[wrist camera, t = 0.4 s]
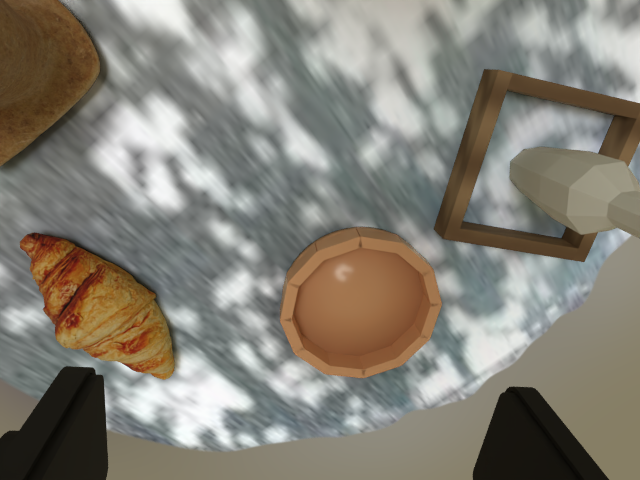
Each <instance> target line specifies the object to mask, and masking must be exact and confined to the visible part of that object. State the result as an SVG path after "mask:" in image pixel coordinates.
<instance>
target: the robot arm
mask: <svg viewBox="0 0 640 480" xmlns="http://www.w3.org/2000/svg"><path fill="white" fill-rule="evenodd" d="M107 471H108V453H107V433H106V413H105V394H104V378H103V376H102V375H96V373H95V370H94V368H90V367H68V366H66V367H64V368H63V369H62V370H61V371H60V372H59V374H58V375H57V377H56V378H55V380H54V381H53V383H52V384H51V385H50V387H49V388H48V390H47V391H46V393H45V394H44V396H43V397H42V398H41V400H40V401H39V403H38V404H37V406H36V407H35V409H34V410H33V412H32V413H31V415H30V416H29V417H28V419H27V420H26V422H25V423H24V425H23V426H22V428H21V429H20V431H8V432H7V433H5V434H4V435H3V436H2V437H1V438H0V480H106V477H107ZM473 480H609V479H608V478H607V476H606V475H605V474H604V473H603V472H602V470H601V469H600V468H599V466H598V465H597V464H596V463H595V462H594V460H593V459H592V458H591V457H590V455H589V454H588V453H587V452H586V450H585V449H584V448H583V447H582V445H581V444H580V443H579V442H578V441H577V439H576V438H575V437H574V436H573V434H572V433H571V432H570V430H569V429H568V428H567V427H566V426H565V424H564V423H563V422H562V421H561V419H560V418H559V417H558V416H557V414H556V413H555V412H554V411H553V409H552V408H551V407H550V406H549V404H548V403H547V402H546V401H545V400H544V398H543V397H542V396H541V395H540V393H539V392H538V391H537V390H536V389H534V388H532V387H509V388H508V389H507V390H506V391H505V392H504V393H502V394H501V395H500V397H499V399H498V402H497V405H496V408H495V410H494V413H493V416H492V419H491V422H490V425H489V428H488V431H487V434H486V436H485V439H484V442H483V445H482V448H481V450H480V453H479V456H478V459H477V462H476V464H475V467H474V471H473Z"/></svg>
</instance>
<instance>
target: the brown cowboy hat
mask: <svg viewBox="0 0 640 480" xmlns="http://www.w3.org/2000/svg"><path fill="white" fill-rule="evenodd" d="M99 73H100V60H99V57H98V54H97V51H96V49H95V47H94V45H93V43H92V41H91V39H90V38H89V36H88V34H87V33H86V31H85V29H84V28H83V26H82V25H81V24H80V23H79V21H78V20H77V19H76V18H75V17H74V16H73V15H72V14H71V12H70V11H69V10H68V9H67V8H66V7H65V6H64V5H63V4H61V3H60V2H59V1H58V0H0V166H2V165H3V164H5V163H6V162H7V161H9V160H10V159H11V158H12V157H14V156H15V155H17V154H18V153H19V152H21V151H22V150H23V149H25V148H26V147H27V146H28V145H29V144H31V143H32V142H33V141H34V140H35V139H36V138H37V137H38V136H39V135H40V134H42V133H43V132H44V131H46V130H47V129H48V128H49V127H51V126H52V125H53V124H54V123H55V122H56V121H58V120H59V119H60V118H61V117H62V116H63V115H64V114H66V112H67V111H68V110H69V109H70V108H71V107H72V106H73V105H75V104H76V103H77V102H78V101H79V100H80V99H81V98H82V97H83V96H84V95H85V94H86V93H87V92H88V90H89V89H90V88H91V87H92V85H93V83H94V82H95V80H96V79H97V77H98V75H99Z"/></svg>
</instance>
